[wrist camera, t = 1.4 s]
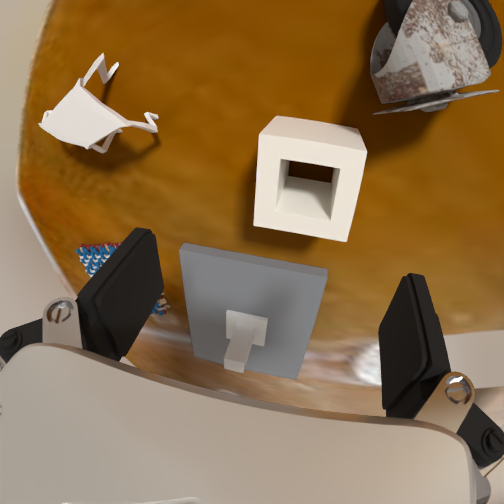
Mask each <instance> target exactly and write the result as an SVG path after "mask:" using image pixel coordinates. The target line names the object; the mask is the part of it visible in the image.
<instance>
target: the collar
mask: <svg viewBox="0 0 504 504" xmlns="http://www.w3.org/2000/svg"><path fill="white" fill-rule="evenodd" d="M366 155H367V150H366V147H365V145H364V142H363V140H362V137H361V135H360V132H359V130H358V129H357V128H352V127H347V126H341V125H336V124H330V123H324V122H318V121H312V120H305V119H298V118H291V117H283V116H276V117H275V118H274V119H273V120H272V121H271V122H270V123H269V124H268V125H267V126H266V127H265V128H264V129H263V130H262V132H261V133H260V134H259V144H258V160H257V176H256V192H255V208H254V224H253V226H259V227H264V228H270V229H276V230H282V231H288V232H293V233H299V234H305V235H310V236H316V237H321V238H327V239H332V240H337V241H343V242H347V238H348V234H349V230H350V226H351V222H352V218H353V214H354V210H355V206H356V202H357V197H358V193H359V189H360V184H361V180H362V175H363V170H364V165H365V160H366ZM290 160H292V161H299V162H305V163H311V164H317V165H323V166H329V167H334V169H333V175H332V181H331V183H328V182H322V181H316V180H310V179H304V178H298V177H292V176H288V172H289V163H290Z"/></svg>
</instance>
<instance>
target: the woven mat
mask: <svg viewBox="0 0 504 504" xmlns="http://www.w3.org/2000/svg"><path fill="white" fill-rule="evenodd" d="M121 243H122V242H121ZM121 243H120V244H121ZM120 244H118V243H115V244H113V243H111V244H110V243H109V242H106V245H104V244H101V245H100V244H96V245H95V244H93V245H92V246H91V245H90V244H88V245H87V246H86V245H83V244H80V247H81V248H80V250H79V249H76V252H77V253H78V254H79V255H80V258H81V260H80V262H82V263H83V264H84V266H86V270H85V271H86V272H87V273H89V276H90V277H91V278H92V276H93V275H94V274H95V273H96V272H97V271H98V269H99V268H100V267H101V266H102V265H103V264H104V262H105V261H106V260H107V259H108V258H109V257H110V255H111V254H112V253H113V252H114V251H115V250H116V249H117V248H118V246H119V245H120ZM80 251H81V252H80ZM89 251H90V252H91V253H90V252H89ZM98 251H99V252H98ZM90 274H91V275H90ZM91 278H90V279H91ZM162 295H164V292H163V293H162ZM166 303H167V302H166V300H165V298H162V297H160V298H159V300H158V302H157V303H156V305H155V307H154V308H153V310H152V312H153V313H155V314H158V311H159V314H160V315H163V314H166V308H171V307H170V305H164V304H166ZM156 309H157V310H158V311H156ZM162 311H163V312H162ZM152 312H151V313H150V314H153V313H152Z"/></svg>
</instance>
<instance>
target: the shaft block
mask: <svg viewBox="0 0 504 504" xmlns="http://www.w3.org/2000/svg"><path fill="white" fill-rule="evenodd" d="M179 252H180V261H181V269H182V278H183V285H184V293H185V300H186V307H187V314H188V321H189V328H190V334H191V340H192V346H193V352H194V357H197V358H201V359H205V360H208V361H212V362H216V363H220V364H224V369H228V370H232V371H236V372H240V373H244V369H245V370H250V371H254V372H259V373H263V374H268V375H273V376H278V377H283V378H289V379H294V380H296V379H297V376H298V373H299V370H300V367H301V364H302V361H303V358H304V355H305V352H306V349H307V346H308V343H309V340H310V336H311V333H312V330H313V327H314V323H315V320H316V317H317V313H318V310H319V306H320V303H321V299H322V296H323V292H324V289H325V285H326V281H327V278H328V269H325V268H319V267H314V266H308V265H303V264H297V263H292V262H286V261H281V260H275V259H270V258H264V257H259V256H254V255H248V254H243V253H237V252H232V251H226V250H221V249H216V248H210V247H205V246H199V245H194V244H189V243H184V244H183V245H182V246H181V248H180V249H179Z"/></svg>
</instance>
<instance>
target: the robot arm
mask: <svg viewBox="0 0 504 504" xmlns="http://www.w3.org/2000/svg"><path fill="white" fill-rule="evenodd" d="M163 289H164V285H163V279H162V273H161V268H160V262H159V255H158V249H157V243H156V237H155V234H152V231H151V230H150V229H145V228H138V227H137V228H135V229H134V230H133V231H132V232H131V233H130V234H129V235H128V237H127V238H126V239H125V240H124V241H123V242H122V243H121V244H120V245H119V246H118V248H117V249H116V250H115V251H114V252H113V253H112V254H111V255H110V257H109V258H108V259H107V260H106V261H105V262H104V264H103V265H102V266H101V267H100V268H99V269H98V271H97V272H96V273H95V274H94V275H93V276H92V278H91V279H90V280H89V281H88V282H87V284H86V285H85V286H84V287H83V289H82V290H81V291H80V292H79V293H78V295H77V296H78V298H77V299H76V300H75V301H74V300H73V299H71V298H69V297H62V298H58V299H55V300H54V301H52V302H51V303H49V304H48V305H47V307H46V308H45V310H44V312H43V318H41V319H39V320H36V321H33V322H30V323H27V324H24V325H21V326H19V327H16V328H13V329H10V330H8V331H6V332H5V333H4V334H3V335H2V336H1V337H0V504H504V432H503V431H502V430H501V428H500V427H499V426H498V425H497V424H495V423H494V422H493V421H492V420H491V419H490V418H489V417H488V416H487V415H486V414H485V413H484V412H483V411H482V410H481V409H480V408H479V407H478V406H477V405H476V404H475V403H473V401H474V398H475V390H474V386H473V384H472V382H471V381H470V379H468V377H467V376H465V375H464V374H462V373H459V372H451V369H450V363H449V360H448V354H447V350H446V346H445V341H444V337H443V333H442V329H441V326H440V322H439V318H438V316H437V314H436V313H435V310H434V307H433V303H432V300H431V296H430V293H429V290H428V287H427V283H426V280H425V277H424V276H423V275H419V274H413V273H409V274H408V275H407V276H403V277H402V279H401V281H400V284H399V286H398V288H397V290H396V293H395V295H394V297H393V299H392V301H391V303H390V305H389V308H388V310H387V312H386V314H385V316H384V318H383V320H382V322H381V324H380V326H379V332H378V335H379V347H380V362H381V381H382V407H383V409H385V410H386V417H380V416H367V415H357V414H347V413H338V412H329V411H321V410H313V409H306V408H299V407H293V406H287V405H281V404H275V403H270V402H264V401H259V400H254V399H249V398H245V397H240V396H235V395H231V394H227V393H222V392H218V391H214V390H210V389H206V388H202V387H199V386H195V385H191V384H187V383H184V382H180V381H177V380H173V379H170V378H167V377H163V376H160V375H157V374H154V373H151V372H147V371H144V370H141V369H138V368H135V367H132V366H130V365H127V364H124V363H121V362H119V361H120V359H121V357H122V356H123V357H124V356H126V355H127V353H128V351H129V350H130V348H131V346H132V344H133V343H134V341H135V339H136V337H137V336H138V334H139V332H140V330H141V329H142V327H143V325H144V324H145V322H146V320H147V319H148V317H149V315H150V313H151V312H152V310H153V308H154V307H155V305H156V303H157V302H158V300H159V298H160V297H161V295H162V293H163Z"/></svg>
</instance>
